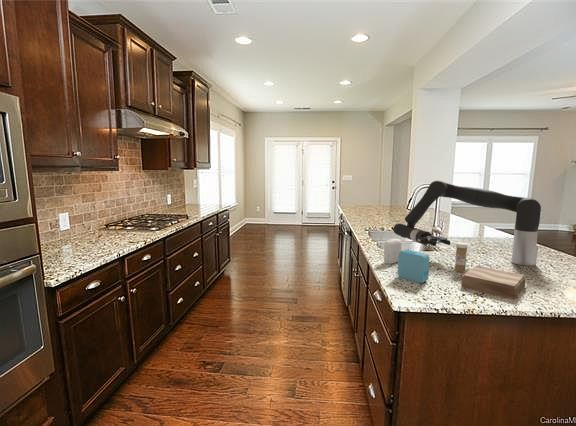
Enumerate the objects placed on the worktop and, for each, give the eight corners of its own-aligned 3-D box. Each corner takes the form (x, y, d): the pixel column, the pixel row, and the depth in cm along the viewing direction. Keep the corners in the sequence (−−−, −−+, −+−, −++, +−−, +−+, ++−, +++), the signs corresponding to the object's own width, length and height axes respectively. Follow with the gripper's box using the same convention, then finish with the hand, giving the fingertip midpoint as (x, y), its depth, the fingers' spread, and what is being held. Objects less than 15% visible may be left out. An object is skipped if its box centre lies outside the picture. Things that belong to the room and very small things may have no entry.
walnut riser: (475, 275, 139) (476, 265, 138) (524, 286, 126) (525, 275, 125) (461, 286, 127) (462, 274, 126) (514, 299, 114) (515, 286, 113)
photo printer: (395, 259, 165) (396, 236, 163) (402, 261, 161) (403, 238, 160) (382, 262, 159) (383, 239, 157) (389, 264, 156) (390, 241, 154)
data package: (428, 281, 132) (429, 254, 131) (423, 284, 130) (424, 256, 128) (402, 274, 142) (403, 249, 140) (397, 276, 139) (398, 250, 137)
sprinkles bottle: (453, 271, 146) (455, 243, 144) (455, 268, 149) (457, 241, 147) (464, 273, 143) (466, 244, 141) (466, 270, 146) (468, 242, 144)
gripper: (410, 230, 168) (431, 237, 153) (431, 229, 172) (454, 235, 157) (409, 243, 169) (430, 251, 154) (430, 242, 173) (453, 249, 158)
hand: (442, 243), depth 155 cm, fingers open, 8 cm apart
